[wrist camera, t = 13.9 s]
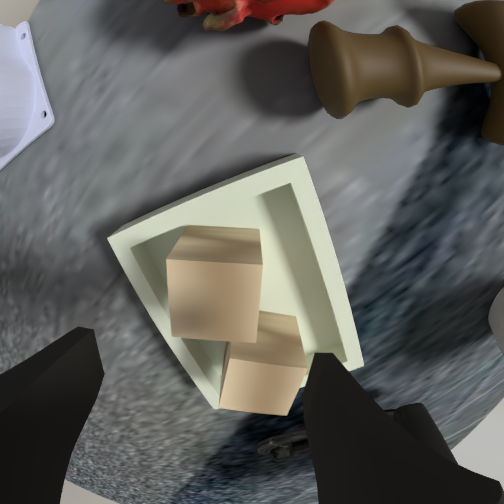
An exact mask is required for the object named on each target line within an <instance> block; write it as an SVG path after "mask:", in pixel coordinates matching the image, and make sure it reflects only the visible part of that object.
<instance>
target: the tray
mask: <svg viewBox="0 0 504 504" xmlns="http://www.w3.org/2000/svg"><path fill="white" fill-rule="evenodd" d="M188 225H200V226H220V227H238V228H255V229H259V230H260V240H261V250H262V260H263V270H262V282H261V293H260V305H259V310H261V311H267V312H273V313H279V314H285V315H291V316H296V319H297V323H298V327H299V332H300V336H301V340H302V345H303V349H304V353H305V358H306V362H307V367H308V370H307V372H306V374H305V376H304V379H303V381H302V383H301V386H300V388H301V387H304V386H305V385H306V381H307V378H308V374H309V371H310V367H311V364H312V360H313V357H314V353H315V352H317V353H334V355H335V356H336V357H337V358H338V359H339V361H340V362H341V363H342V364H343V365H344V367H345V368H346V369H347V370H348V371H351V370H354V369H357V368H359V367H362V366H364V363H363V358H362V354H361V349H360V345H359V341H358V337H357V332H356V328H355V324H354V320H353V316H352V312H351V308H350V305H349V301H348V297H347V293H346V289H345V286H344V282H343V279H342V275H341V271H340V268H339V264H338V261H337V258H336V254H335V251H334V247H333V244H332V241H331V238H330V234H329V231H328V228H327V225H326V222H325V218H324V215H323V212H322V209H321V206H320V203H319V200H318V197H317V194H316V191H315V188H314V185H313V182H312V180H311V177H310V174H309V171H308V168H307V165H306V163H305V160H304V157H303V156H301V155H298V154H296V153H295V154H293V155H290V156H287V157H284V158H281V159H279V160H276V161H273V162H270V163H268V164H265V165H262V166H260V167H257V168H255V169H252V170H249V171H247V172H244V173H242V174H239V175H236V176H234V177H231V178H229V179H226V180H224V181H221V182H219V183H217V184H214V185H212V186H209V187H207V188H204V189H202V190H200V191H197V192H195V193H193V194H190V195H188V196H186V197H183V198H181V199H179V200H177V201H174V202H172V203H170V204H168V205H165V206H163V207H161V208H159V209H156V210H154V211H152V212H150V213H148V214H146V215H143V216H141V217H139V218H137V219H135V220H133V221H131V222H129V223H127V224H124V225H123V226H122V227H120V228H119V229H118V230H117V231H115V232H114V233H113V234H112V235H110V236H109V237H108V238H107V239H108V241H109V243H110V245H111V247H112V249H113V251H114V253H115V255H116V256H117V258H118V260H119V262H120V264H121V266H122V268H123V269H124V271H125V273H126V275H127V277H128V279H129V280H130V282H131V284H132V286H133V287H134V289H135V291H136V293H137V294H138V296H139V298H140V299H141V301H142V303H143V305H144V306H145V308H146V310H147V311H148V313H149V315H150V316H151V318H152V319H153V321H154V323H155V324H156V326H157V327H158V329H159V331H160V332H161V334H162V335H163V337H164V338H165V340H166V342H167V343H168V345H169V346H170V348H171V349H172V351H173V352H174V354H175V355H176V357H177V358H178V360H179V361H180V363H181V364H182V365H183V367H184V368H185V370H186V371H187V373H188V374H189V376H190V377H191V378H192V380H193V381H194V383H195V384H196V385H197V387H198V388H199V389H200V391H201V392H202V394H203V395H204V396H205V398H206V399H207V400H208V402H209V403H210V404H211V406H212V407H213V408H214V409H219V408H218V407H219V397H220V387H221V377H222V368H223V358H224V351H225V346H226V342H227V341H215V340H202V339H190V338H179V337H172V334H171V323H170V311H169V298H168V283H167V265H166V259H167V257H168V256H169V254H170V252H171V251H172V249H173V248H174V246H175V245H176V243H177V241H178V240H179V238H180V237H181V235H182V234H183V232H184V231H185V229H186V228H187V226H188Z"/></svg>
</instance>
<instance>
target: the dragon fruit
mask: <svg viewBox="0 0 504 504" xmlns="http://www.w3.org/2000/svg"><path fill="white" fill-rule="evenodd" d="M163 1H164V2H166V3H169V4H178V6H177V10H178V13H179V15H180V16H181V17H197V16H200V15H202V14H204V13H207V12H210V13H209V14H208V15H207V17H206V18H205V19H204V20H203V21H202V26H203V29H204V30H218V31H224V30H226V29H228V28H230V27H232V26H233V25H235V24H239V23H241V22H242V21H243V19H244V18H245V17H246V16H249V17H254V18H257V19H262V20H265V21H268V22H269V23H271V24H273V25H278V24H279V23H281V22H282V20H283V19H282V18H283V17H284V15H288V14H294V15H304V14H309V13H310V14H312V13H315V12H318V11H320V10H322V9H324V8H326V7H328V6H329V5H330V4H331V3H332V2H333V1H334V0H163ZM184 2H188V3H186V4H184Z"/></svg>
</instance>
